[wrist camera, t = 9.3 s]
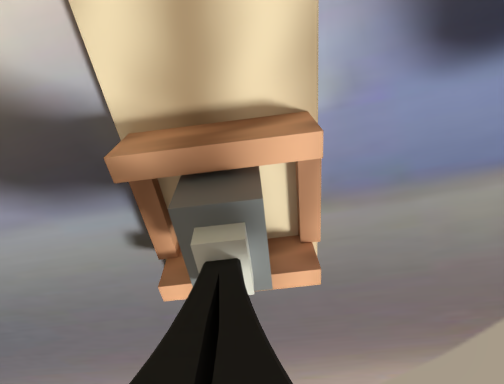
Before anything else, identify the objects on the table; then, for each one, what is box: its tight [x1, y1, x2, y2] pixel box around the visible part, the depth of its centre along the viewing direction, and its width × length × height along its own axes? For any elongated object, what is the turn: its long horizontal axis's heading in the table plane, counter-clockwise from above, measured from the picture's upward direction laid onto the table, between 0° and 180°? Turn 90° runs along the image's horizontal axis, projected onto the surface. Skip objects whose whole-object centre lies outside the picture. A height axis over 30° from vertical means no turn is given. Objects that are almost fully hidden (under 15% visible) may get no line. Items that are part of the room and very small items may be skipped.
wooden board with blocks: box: [68, 0, 323, 301], centre depth 11 cm, size 10×32×4 cm, turn 7°
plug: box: [168, 166, 273, 295], centre depth 13 cm, size 4×5×6 cm
